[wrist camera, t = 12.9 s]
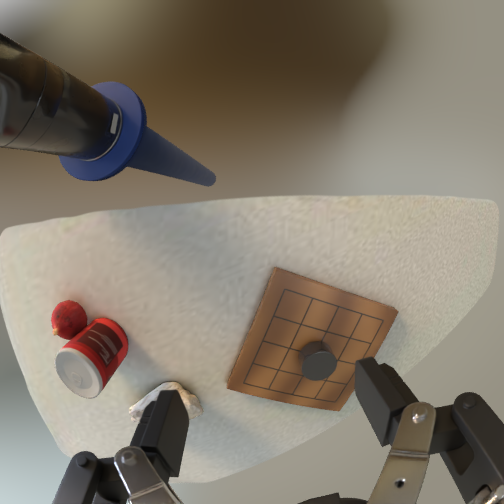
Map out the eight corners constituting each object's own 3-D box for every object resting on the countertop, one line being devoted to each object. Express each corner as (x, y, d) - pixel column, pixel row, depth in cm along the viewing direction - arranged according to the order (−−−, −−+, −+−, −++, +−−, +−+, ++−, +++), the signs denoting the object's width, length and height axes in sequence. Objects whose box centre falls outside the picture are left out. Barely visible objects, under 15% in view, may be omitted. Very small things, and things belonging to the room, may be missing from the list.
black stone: (292, 365, 37) (295, 377, 34) (306, 337, 36) (311, 347, 33) (322, 372, 38) (327, 383, 35) (337, 345, 37) (343, 355, 34)
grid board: (227, 382, 39) (226, 389, 38) (274, 266, 36) (276, 269, 34) (337, 406, 41) (339, 411, 39) (394, 307, 37) (399, 311, 36)
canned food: (93, 354, 38) (62, 390, 28) (86, 312, 37) (47, 343, 26) (132, 363, 39) (106, 405, 28) (127, 320, 37) (94, 357, 26)
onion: (66, 290, 36) (37, 308, 28) (94, 298, 36) (67, 318, 28) (69, 322, 37) (43, 343, 29) (97, 331, 37) (72, 355, 30)
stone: (200, 398, 44) (217, 423, 35) (146, 431, 39) (153, 462, 30) (176, 367, 43) (189, 389, 34) (120, 401, 38) (120, 430, 29)
